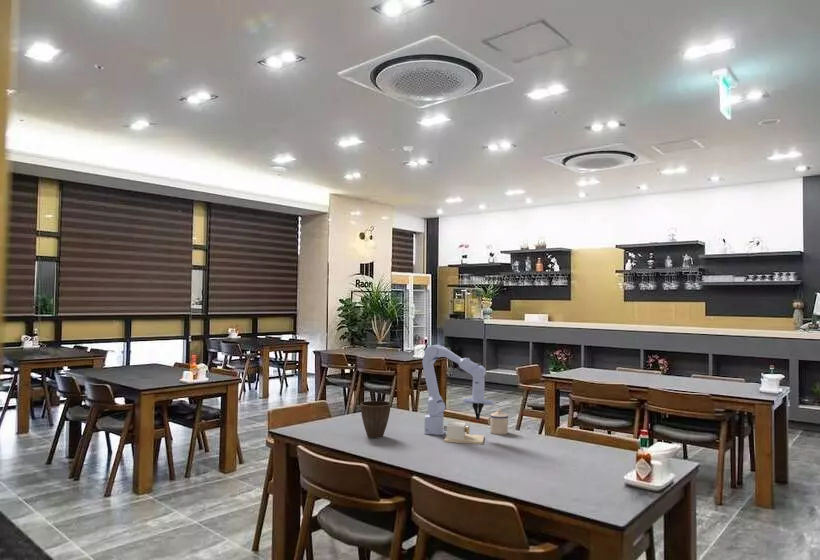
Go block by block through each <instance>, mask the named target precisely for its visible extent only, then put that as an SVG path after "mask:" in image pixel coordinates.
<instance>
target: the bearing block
mask: <svg viewBox="0 0 820 560" xmlns="http://www.w3.org/2000/svg"><path fill="white" fill-rule="evenodd" d="M446 426H447V431H446V435H445V438H444V439H443V442H444V443H453V442H455V443H457V444H458V443H459V444H472V445H473V444H474V445H483V444H484V439H485V435H483V434H470V433H469V434H466V432H464V427H466V422H460V421H459V422H456V421H449V422H448V424H447V425H446Z"/></svg>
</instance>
